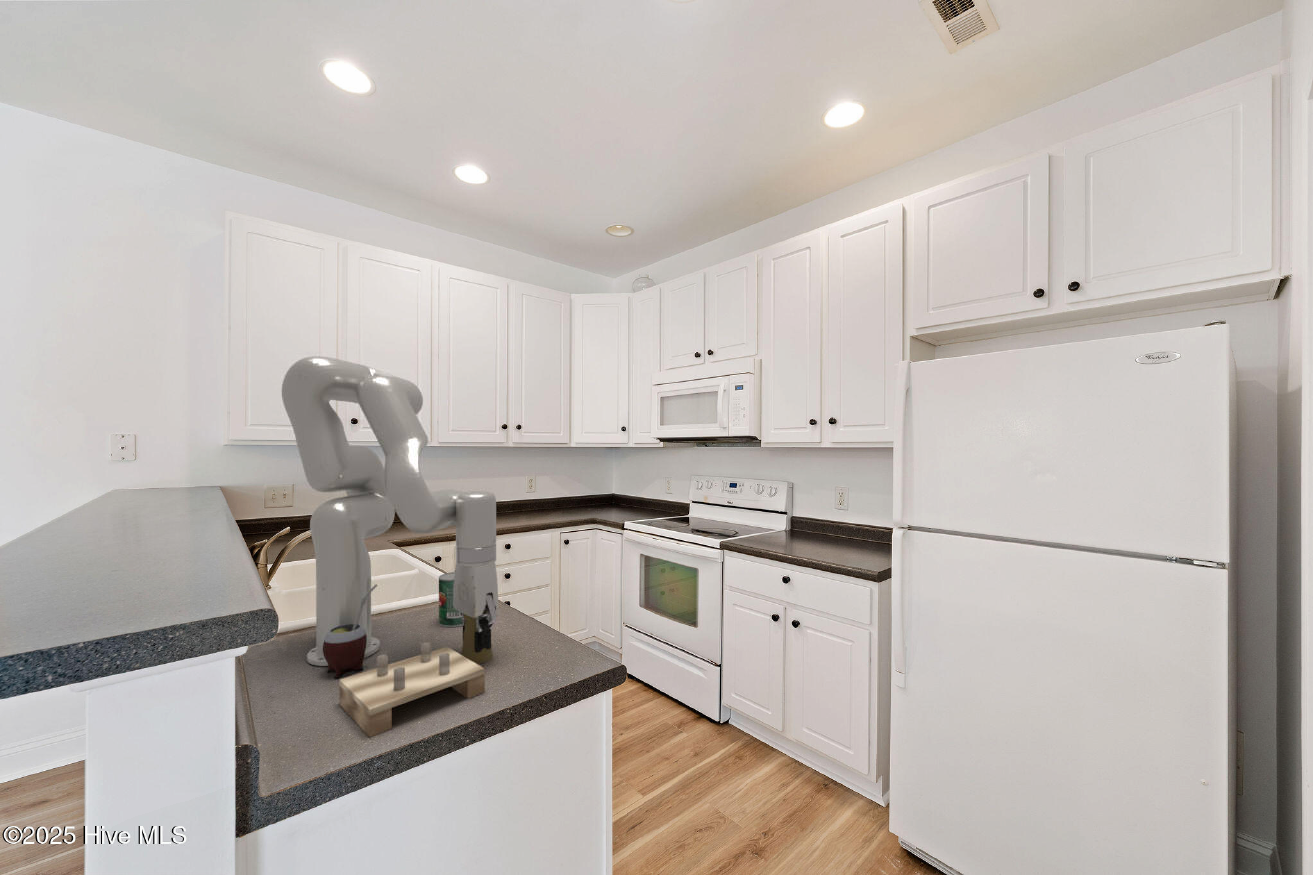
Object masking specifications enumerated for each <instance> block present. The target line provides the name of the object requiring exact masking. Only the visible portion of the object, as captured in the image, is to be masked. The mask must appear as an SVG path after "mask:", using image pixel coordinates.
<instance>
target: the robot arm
mask: <svg viewBox="0 0 1313 875" xmlns="http://www.w3.org/2000/svg"><path fill="white" fill-rule="evenodd" d="M281 398H282V403H283V406H284V409H285V412H286V414H287V417H288V419H289V422H290V424H291V427H292V430H293V433H294V436H295V441H296V442H295V443H296V445H297V449H298V454H299V457H300V460H301V464H302V468H303V470H304V475H305V478H306V481H307V483H308V485H309V486H310V487H311V488H312V489H313V490H314V491H316V492H320V493H338V492H344V491H345V493H346V496H339V497H336V498H335V497H334V498H332V499H329V500H326V501H324V502H323V503H322V504H320V505H319V506H318V507H317V508H316V509H314V511H313V512H312V515H311V516H310V522H309V531H310V536H311V540H312V543H313V548H314V555H315V556H314V557H315V580H316V582H315V584H316V586H315V587H316V589H315V592H316V593H315V595H316V596H315V598H316V599H315V600H316V606H315V609H316V611H315V612H316V613H315V615H316V620H315V621H316V625H315V626H316V630H315V631H316V633H315V634H316V637H315V638H316V641H315V643H316V646H315V647H313V648H312V649H310V650H309V651H308V652H307V654H306V661H307V663H308V664H311V665H313V666H317V667H329V666H328V663H327V661H326V660H325V658H324V655H323V644H324V639H325V637H326V635H327V633H328V632H329V631H330V630H331V629H332V628H335V627H337V626H341V625H346V624H354V623H355V620H356V617H357V614H358V611H359V608H360V605H361V604H360V603H361V600H362V598H363V597H364V596H365V595H366V593H367V592H368V591H369V590H370V589H371V588H372V564H371V563H372V562H371V557H370V553H369V551H368V548H367V546H366V544H365V540H366V539H370V538H374V537H377V536H379V535H382V534H384V533H385V532H386V531H388V530H389V529H390V528H391V526H392V525H393V522H394V520H395V516H396V515H397V516H398V518H399V519H400V521H401V523H402V524H403V525H404V526H405V527H406V528H407V529H408V530H410V531H411V532H413V533H416V534H419V535H420V534H421V535H422V534H430V533H433V532H436V531H438V530H441V529H446V528H449V527H452V526H455V567H454V572H455V573H454V586H453V607H454V608H455V609H456V610H457V611H459V612H460V613H461V615H462V620H461V622H462V625H463V626H462V639H463V638H464V630H465V623H466V620H465V619H464V617H463V613H464V614H466V615H468V616H470V617H472V618H476V629H477V631H476V632H475V652H476V653H479V652H481V650H482V649H484V648H486V650H488V649H490V648H491V646H492V629H493V627H494V626H493V625H494V623H495V622H496V621H498V613H497V611H498V609H499V608H498V606H499V587H498V575H497V567H496V562H497V498H496V496H495V494H494V493H493V492H490V491H483V490H482V491H480V490H477V491H460V490H453V489H442V490H435V491H430V490H429V488H428V485H427V483H426V482H425V480H424V478H423V475H422V472H421V468H420V457H421V453H422V452H423V451H424V449H425V448H426V447H427V444H428V443H429V437H428V434H427V433H426V431H425V430H424V428H423V426H422V424H421V422H420V420H419V418H418V416H417V415H418V414H419V413H420V412H421V410H422V407H423V404H424V398H423V394H422V392H421V390H420V389H419V387H418V386H417V385H416V384H415V383H413V382H412V381H410V380H408V379H404V378H401V377H399V376H395V375H392V374H390V373H387V372H384V371H380V370H378V369H375V368H372V367H371V366H367V365H364V364H359V363H357V362H355V363H354V362H352V361H351V362H350V361H346V360H342V359H338V358H334V357H328V356H317V355H314V356H307V357H303V358H301V359H298V360H297V361H295V362H294V363H293V364H292V365H290V367H289V368H288V370H287V371H286V373H285V375H284V377H283V380H282V384H281ZM330 401H335V402H336V401H338V402H344V403H345V402H348V403H354V404H357V405H359V407H360V409H361V411H362V413H363V415H364V417H365V419H366V421H367V423H368V425H369V427H370V429H371V430H372V433H373V434H374V436H375V438H376V440H377V442H378V444H379V447H380V448H381V450H382V452H383V454H384V458H385V459H384V460H385V461H384V466H383V462H382V461H381V459H380V457H379V455H378V454H377V453H376V452H375V451H373V450H372V448H371V449H370V448H368V447H366V446H362V445H350V444H349V441H348V439H347V436H346V433H345V432H346V431H345V428H344V425H343V422H342V420H341V418H340V416H339V415H338V413H337V412H336V411H335V409H334V408H333V407H332V405H331V404H330ZM395 514H396V515H395ZM485 610H486V611H487V613H485V614H483V611H485ZM483 617H486V619H484V620H483V622H482V623H481V618H483ZM358 624H359V625H360V626H362V627H363V628H364V630H365V631H366V636H367V643H366V650H365V656H364V659H366V658H368V657H370V656H371V655H374V654H375V653H377V651H378V650H379V649H380V646H381V642H380V639H378V638H377V637H373V636H372V592H371V593H370V594H369V595H368V597H367V598H366V602H365V604H364V606H363V609H362V612H361V615H360V618H359V621H358Z"/></svg>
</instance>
